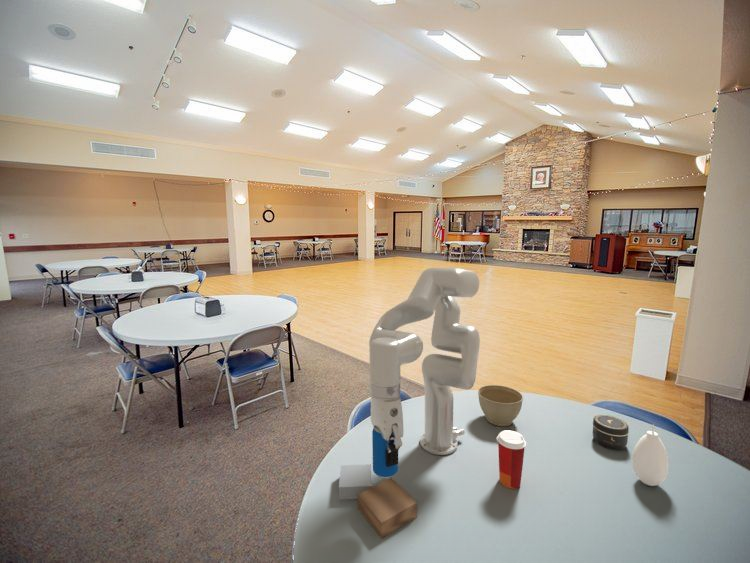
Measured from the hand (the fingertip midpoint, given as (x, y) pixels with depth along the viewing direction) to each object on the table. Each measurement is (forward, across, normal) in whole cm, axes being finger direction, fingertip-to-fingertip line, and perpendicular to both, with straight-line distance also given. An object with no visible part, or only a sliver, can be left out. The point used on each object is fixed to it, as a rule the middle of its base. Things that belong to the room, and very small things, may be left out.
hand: (385, 456), depth 86 cm
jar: (+15, -5, -82) cm, 84 cm away
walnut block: (+16, 0, 0) cm, 16 cm away
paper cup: (+16, -5, -37) cm, 41 cm away
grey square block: (+16, +12, +4) cm, 21 cm away
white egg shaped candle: (+15, -22, -72) cm, 77 cm away
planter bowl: (+15, +22, -59) cm, 65 cm away
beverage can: (+4, 0, 0) cm, 4 cm away
